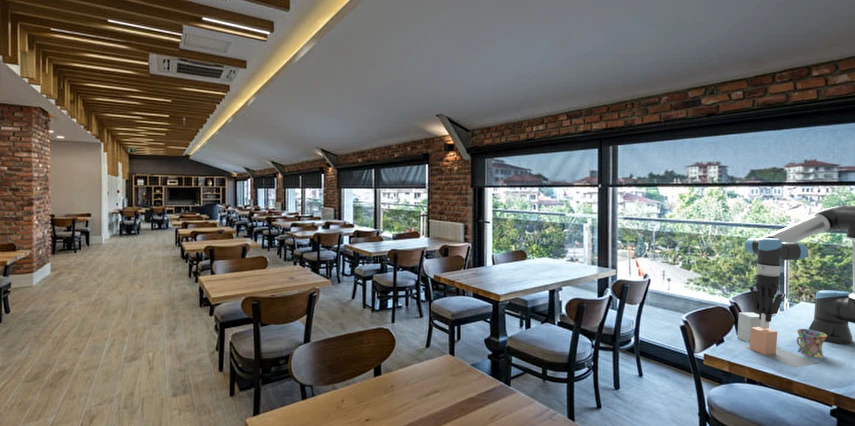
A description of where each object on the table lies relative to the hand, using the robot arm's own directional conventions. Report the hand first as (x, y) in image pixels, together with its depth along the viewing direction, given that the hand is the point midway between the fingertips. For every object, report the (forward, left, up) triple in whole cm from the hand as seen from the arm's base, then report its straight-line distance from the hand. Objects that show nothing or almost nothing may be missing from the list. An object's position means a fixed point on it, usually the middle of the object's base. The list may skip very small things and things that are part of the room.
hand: (764, 328), depth 170 cm
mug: (-16, +6, -12) cm, 21 cm away
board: (-3, +5, -12) cm, 13 cm away
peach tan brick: (0, 0, -10) cm, 10 cm away
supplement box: (-11, -13, -12) cm, 21 cm away
